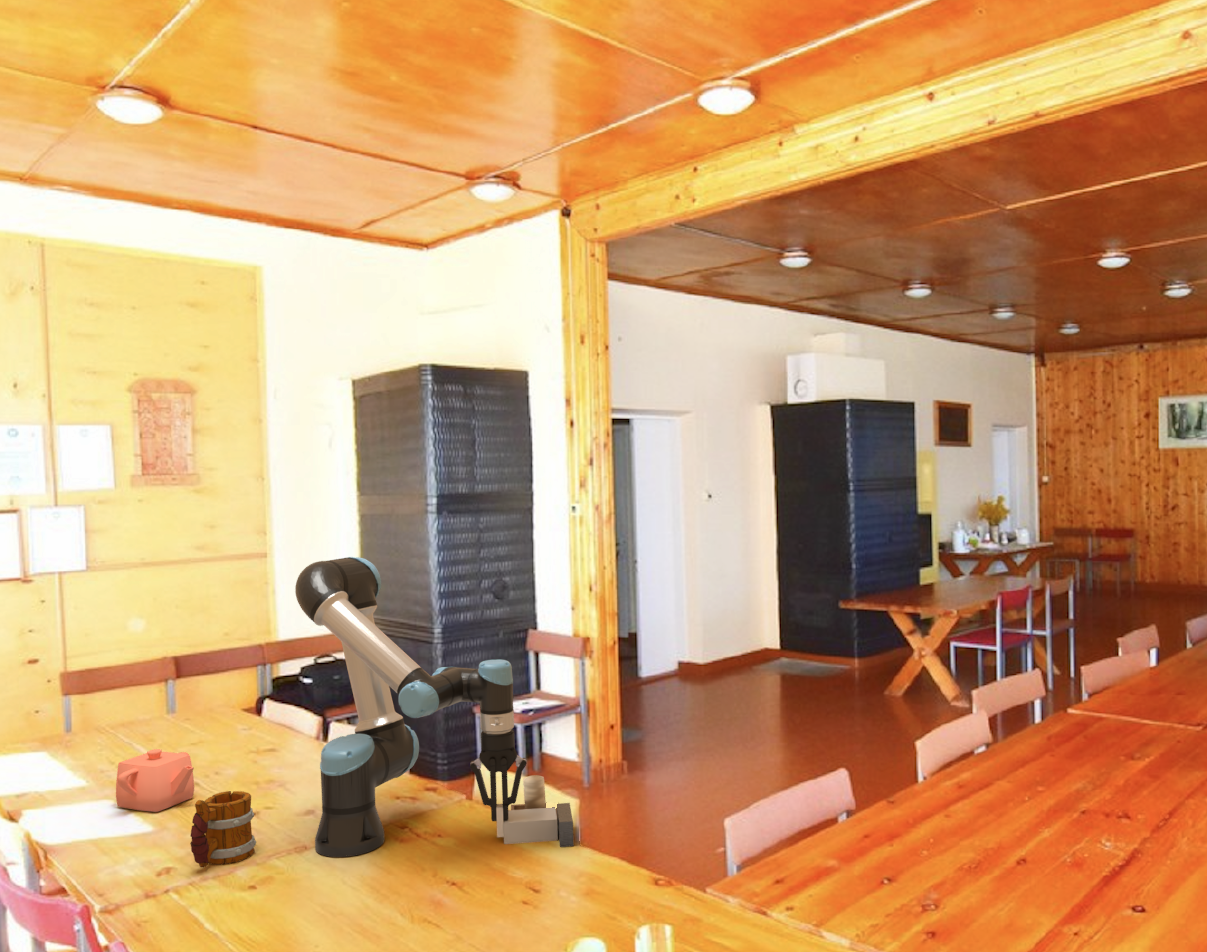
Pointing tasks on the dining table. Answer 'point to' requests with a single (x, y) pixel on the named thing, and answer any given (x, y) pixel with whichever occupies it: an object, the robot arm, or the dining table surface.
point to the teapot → (154, 781)
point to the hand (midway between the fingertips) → (500, 834)
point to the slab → (530, 826)
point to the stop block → (565, 825)
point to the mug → (222, 829)
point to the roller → (534, 792)
